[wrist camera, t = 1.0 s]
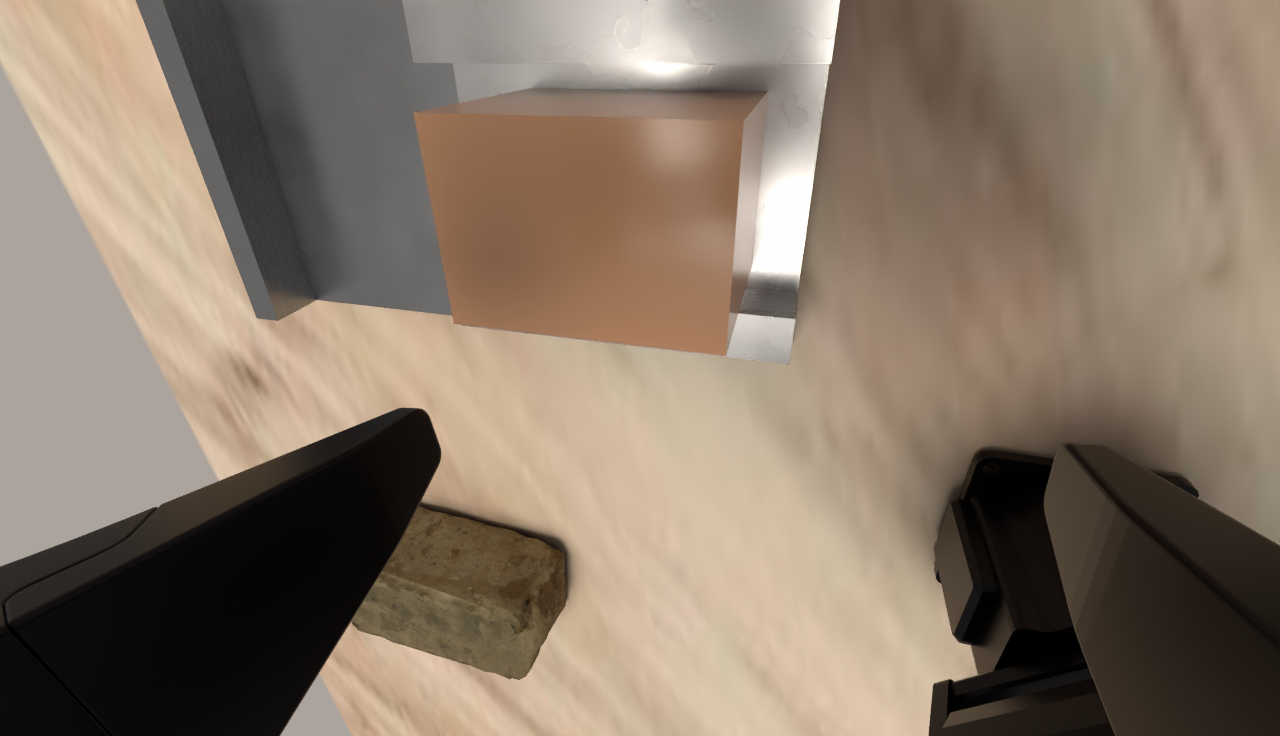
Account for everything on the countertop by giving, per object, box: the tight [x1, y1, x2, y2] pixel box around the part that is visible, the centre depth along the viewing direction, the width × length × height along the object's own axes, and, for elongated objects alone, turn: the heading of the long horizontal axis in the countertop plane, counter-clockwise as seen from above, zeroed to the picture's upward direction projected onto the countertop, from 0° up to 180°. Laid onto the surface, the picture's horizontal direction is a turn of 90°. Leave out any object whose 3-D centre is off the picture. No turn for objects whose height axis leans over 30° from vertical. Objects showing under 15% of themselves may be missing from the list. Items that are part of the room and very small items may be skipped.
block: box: [414, 88, 768, 356], centre depth 15 cm, size 7×5×6 cm
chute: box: [136, 0, 840, 364], centre depth 19 cm, size 20×11×3 cm, turn 91°
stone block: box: [351, 506, 567, 680], centre depth 29 cm, size 6×12×5 cm, turn 87°
